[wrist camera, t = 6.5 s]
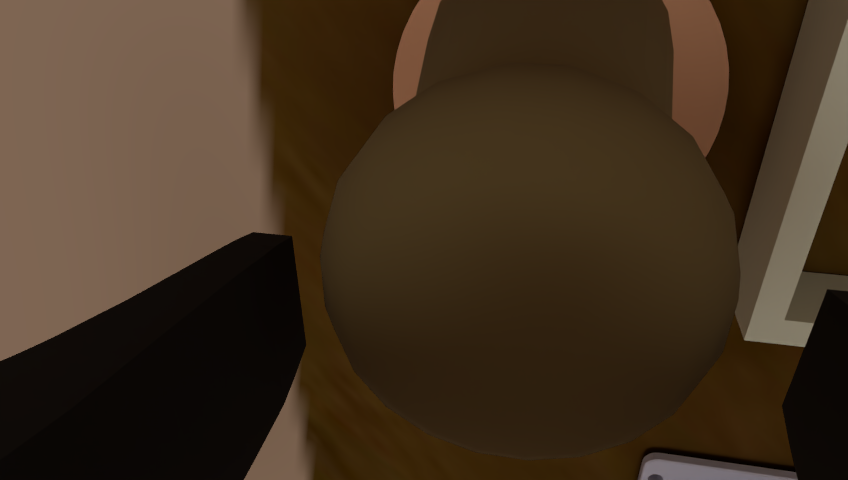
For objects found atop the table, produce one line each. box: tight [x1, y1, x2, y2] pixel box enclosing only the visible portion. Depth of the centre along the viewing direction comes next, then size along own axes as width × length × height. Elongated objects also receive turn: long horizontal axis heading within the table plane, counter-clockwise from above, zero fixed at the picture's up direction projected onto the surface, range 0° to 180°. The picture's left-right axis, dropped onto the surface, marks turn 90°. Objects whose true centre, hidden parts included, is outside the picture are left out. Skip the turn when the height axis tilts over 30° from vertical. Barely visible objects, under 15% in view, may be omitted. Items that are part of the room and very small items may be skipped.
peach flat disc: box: [393, 0, 729, 157], centre depth 17 cm, size 8×8×1 cm
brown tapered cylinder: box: [320, 0, 741, 460], centre depth 12 cm, size 6×6×11 cm
